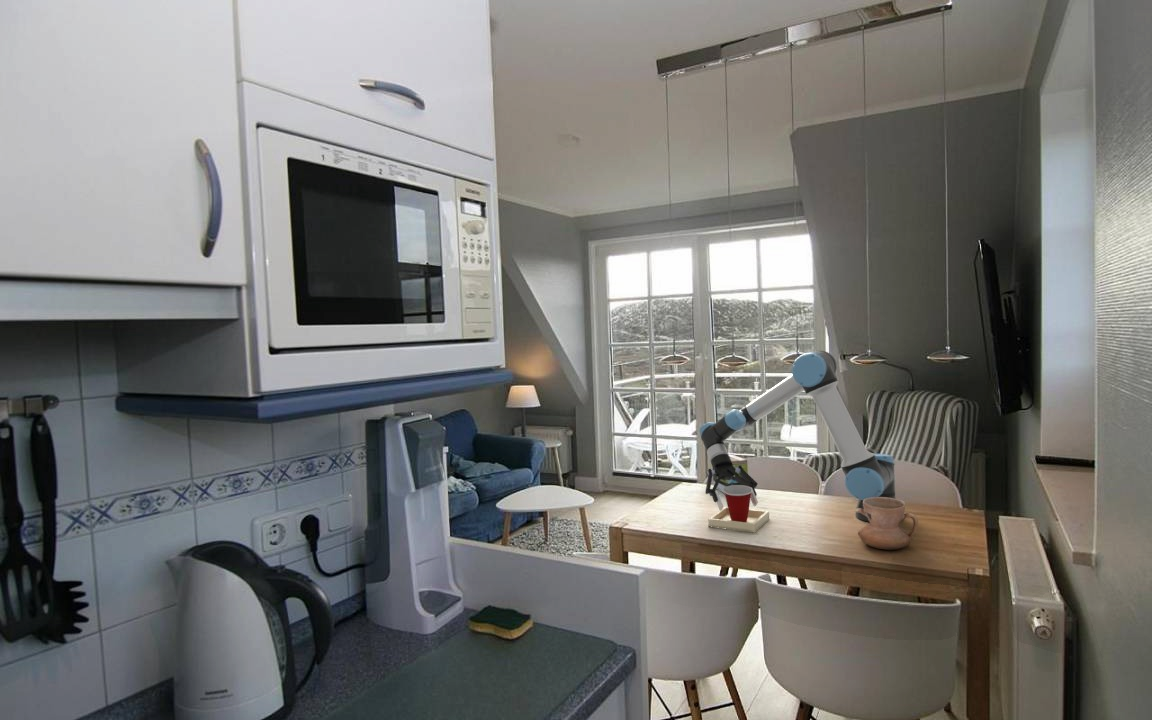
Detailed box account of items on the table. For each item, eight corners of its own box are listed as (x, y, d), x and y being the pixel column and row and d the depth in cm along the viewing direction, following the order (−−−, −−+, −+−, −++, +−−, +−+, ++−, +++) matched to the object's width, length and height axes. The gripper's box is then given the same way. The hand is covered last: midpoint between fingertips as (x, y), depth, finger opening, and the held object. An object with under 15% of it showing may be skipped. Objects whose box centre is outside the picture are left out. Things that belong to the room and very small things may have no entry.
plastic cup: (723, 525, 231) (722, 492, 231) (724, 516, 242) (722, 485, 241) (755, 525, 229) (753, 492, 228) (754, 516, 239) (752, 484, 239)
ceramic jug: (853, 549, 201) (852, 505, 201) (858, 535, 214) (857, 493, 213) (917, 558, 193) (917, 511, 192) (919, 542, 205) (918, 498, 204)
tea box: (749, 493, 275) (747, 459, 275) (728, 496, 273) (726, 461, 272) (733, 485, 290) (731, 453, 289) (712, 488, 288) (711, 455, 287)
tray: (769, 519, 237) (769, 511, 237) (754, 532, 223) (754, 524, 223) (725, 514, 247) (725, 506, 247) (708, 527, 233) (708, 518, 233)
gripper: (746, 460, 254) (767, 507, 240) (687, 467, 249) (704, 515, 235) (752, 449, 248) (773, 497, 234) (691, 456, 243) (709, 505, 229)
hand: (738, 506), depth 234 cm, fingers open, 13 cm apart
